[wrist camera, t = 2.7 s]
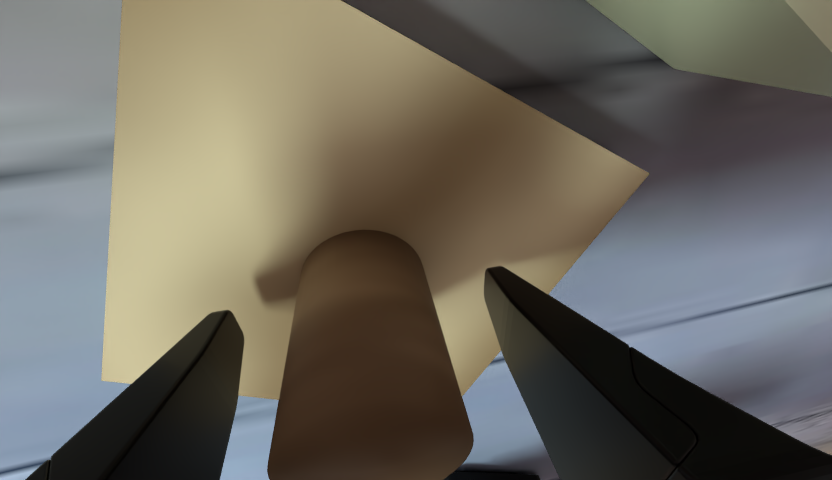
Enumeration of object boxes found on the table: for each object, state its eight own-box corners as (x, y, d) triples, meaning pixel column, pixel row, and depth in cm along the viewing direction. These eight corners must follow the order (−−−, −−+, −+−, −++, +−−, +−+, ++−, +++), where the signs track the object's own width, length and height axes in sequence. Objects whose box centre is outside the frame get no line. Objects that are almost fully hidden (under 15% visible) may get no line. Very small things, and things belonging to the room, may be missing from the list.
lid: (628, 162, 9) (866, 290, 5) (439, 398, 14) (479, 566, 10) (155, -103, 5) (-674, -594, 1) (117, 356, 10) (-51, 610, 6)
